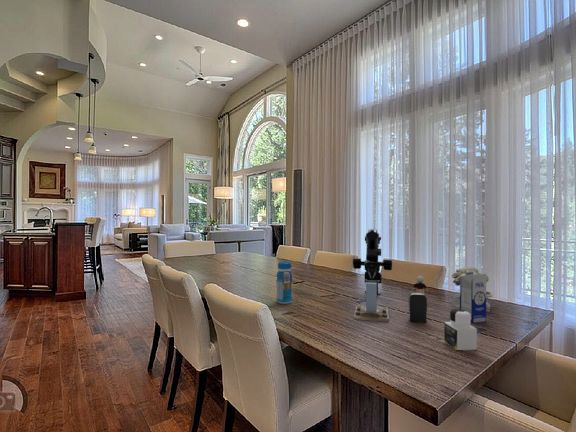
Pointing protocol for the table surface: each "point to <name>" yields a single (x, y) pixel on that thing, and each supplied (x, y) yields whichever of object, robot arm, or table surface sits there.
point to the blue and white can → (284, 283)
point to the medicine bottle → (460, 331)
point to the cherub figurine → (457, 281)
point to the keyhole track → (371, 314)
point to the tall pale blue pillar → (371, 297)
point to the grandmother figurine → (419, 285)
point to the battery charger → (417, 307)
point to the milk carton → (473, 296)
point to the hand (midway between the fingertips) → (372, 278)
